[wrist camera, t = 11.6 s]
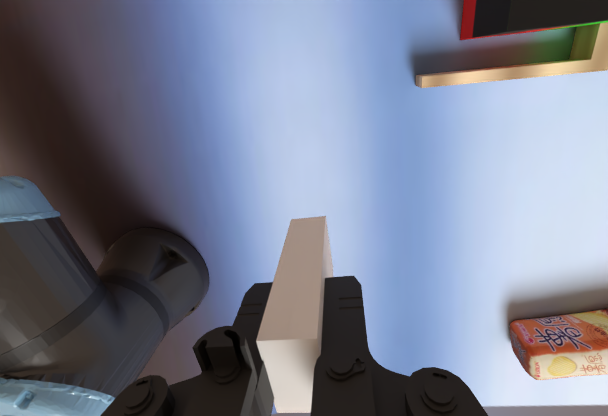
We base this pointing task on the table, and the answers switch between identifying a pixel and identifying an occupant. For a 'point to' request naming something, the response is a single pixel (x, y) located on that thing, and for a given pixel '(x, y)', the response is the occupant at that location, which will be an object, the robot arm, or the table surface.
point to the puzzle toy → (528, 16)
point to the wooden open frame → (584, 58)
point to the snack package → (562, 345)
